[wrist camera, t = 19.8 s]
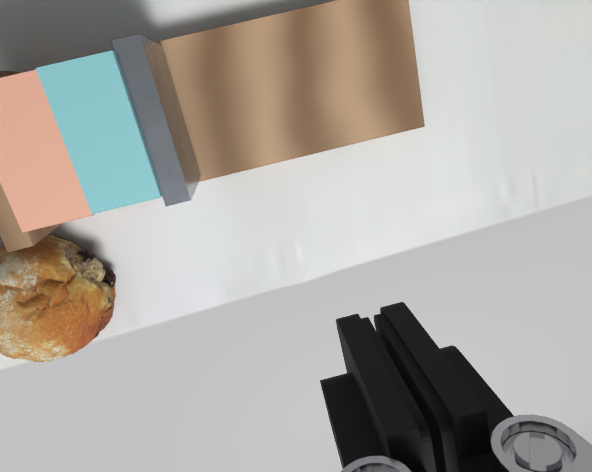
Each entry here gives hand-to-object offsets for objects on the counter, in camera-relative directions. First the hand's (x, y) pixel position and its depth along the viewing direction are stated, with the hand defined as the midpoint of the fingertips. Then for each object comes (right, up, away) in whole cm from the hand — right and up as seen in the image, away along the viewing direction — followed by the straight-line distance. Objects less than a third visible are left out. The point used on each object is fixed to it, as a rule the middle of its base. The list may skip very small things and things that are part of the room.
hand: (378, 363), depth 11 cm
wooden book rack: (-7, +13, +24) cm, 28 cm away
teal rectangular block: (-14, +11, +22) cm, 28 cm away
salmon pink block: (-17, +10, +22) cm, 30 cm away
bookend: (-11, +12, +22) cm, 27 cm away
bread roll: (-22, -1, +27) cm, 34 cm away
